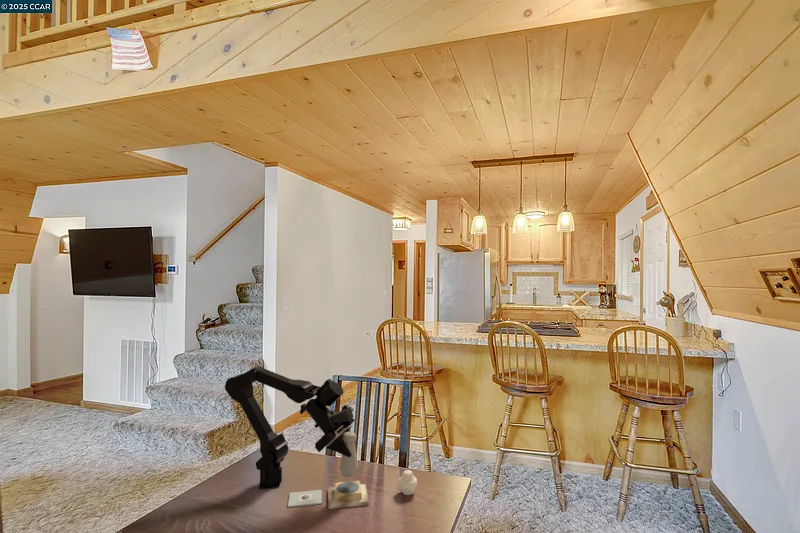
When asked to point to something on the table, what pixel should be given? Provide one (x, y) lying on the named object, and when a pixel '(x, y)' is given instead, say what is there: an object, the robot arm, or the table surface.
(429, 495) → the table surface
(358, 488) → the foundation
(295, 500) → the pale grey rectangular tile
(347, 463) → the beige mushroom knob
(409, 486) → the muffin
